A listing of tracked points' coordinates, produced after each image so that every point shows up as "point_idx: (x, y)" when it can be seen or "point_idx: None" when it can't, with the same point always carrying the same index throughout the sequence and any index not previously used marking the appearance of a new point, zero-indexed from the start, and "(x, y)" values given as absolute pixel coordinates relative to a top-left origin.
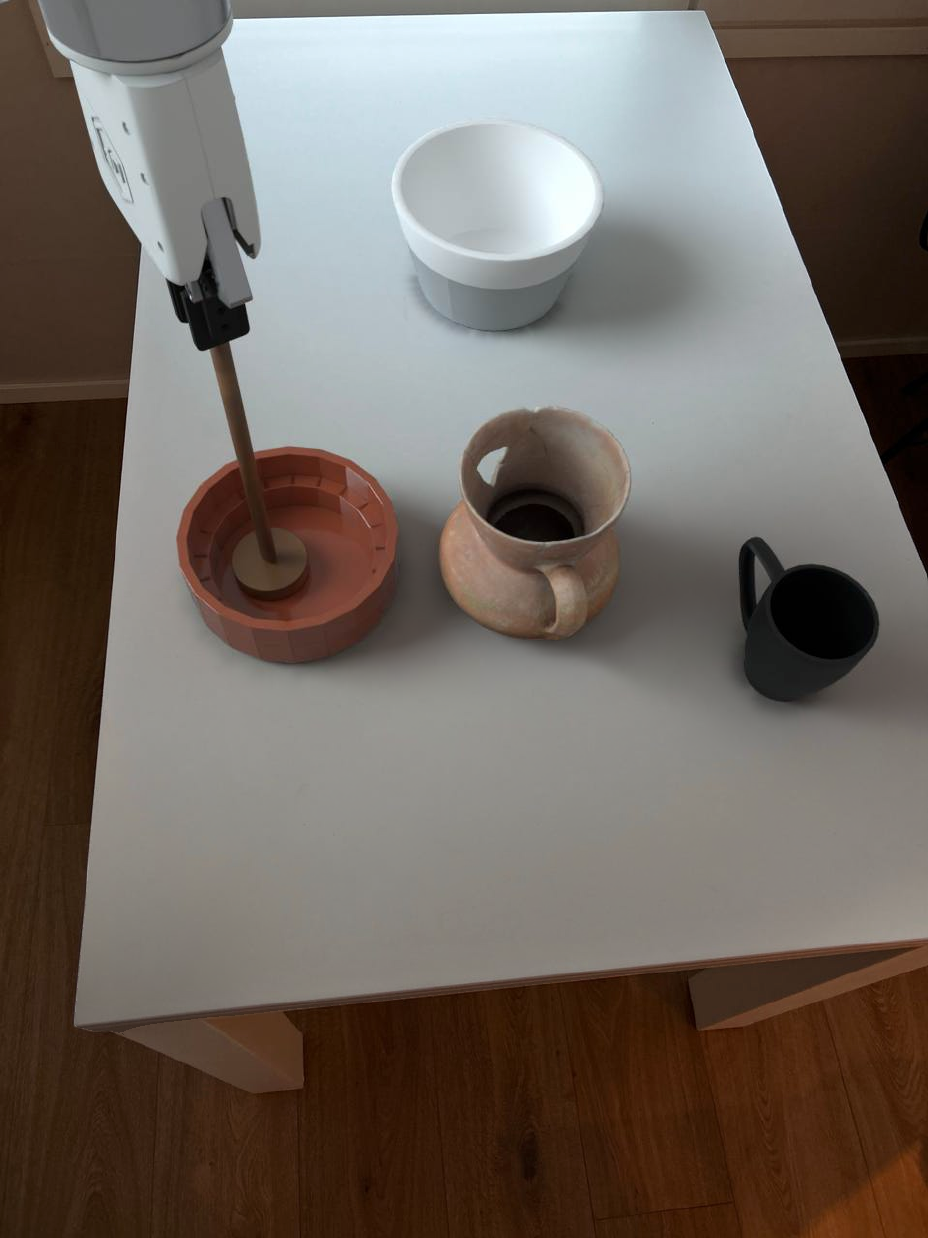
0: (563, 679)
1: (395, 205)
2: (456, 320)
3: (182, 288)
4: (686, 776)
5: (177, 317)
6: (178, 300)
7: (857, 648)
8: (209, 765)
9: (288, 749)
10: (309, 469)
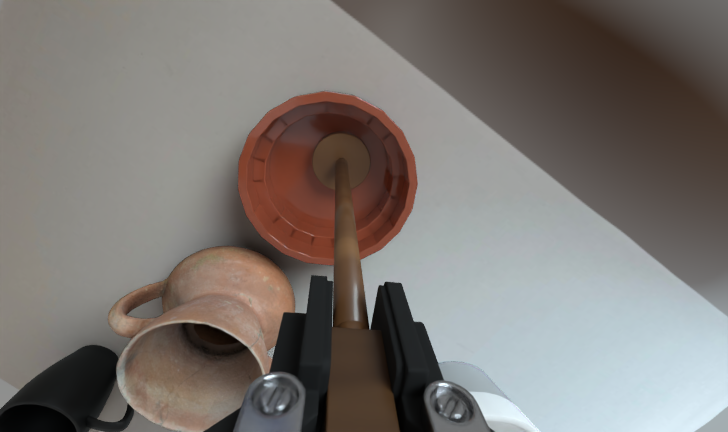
0: (156, 263)
1: (512, 416)
2: None
3: (387, 344)
4: (55, 280)
5: (395, 283)
6: (386, 317)
7: (31, 420)
8: (223, 21)
9: (204, 81)
10: (380, 230)
